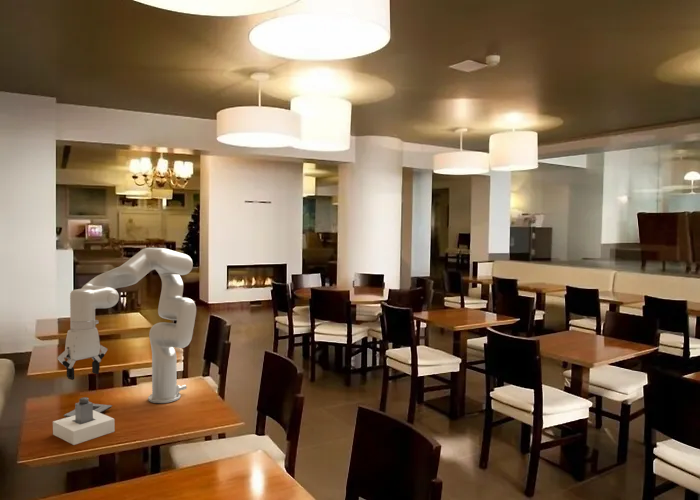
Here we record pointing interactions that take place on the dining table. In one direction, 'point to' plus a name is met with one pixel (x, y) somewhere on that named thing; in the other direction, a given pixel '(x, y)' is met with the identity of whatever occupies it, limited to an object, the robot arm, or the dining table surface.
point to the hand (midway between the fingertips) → (83, 375)
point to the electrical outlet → (96, 407)
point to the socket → (83, 428)
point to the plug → (83, 411)
